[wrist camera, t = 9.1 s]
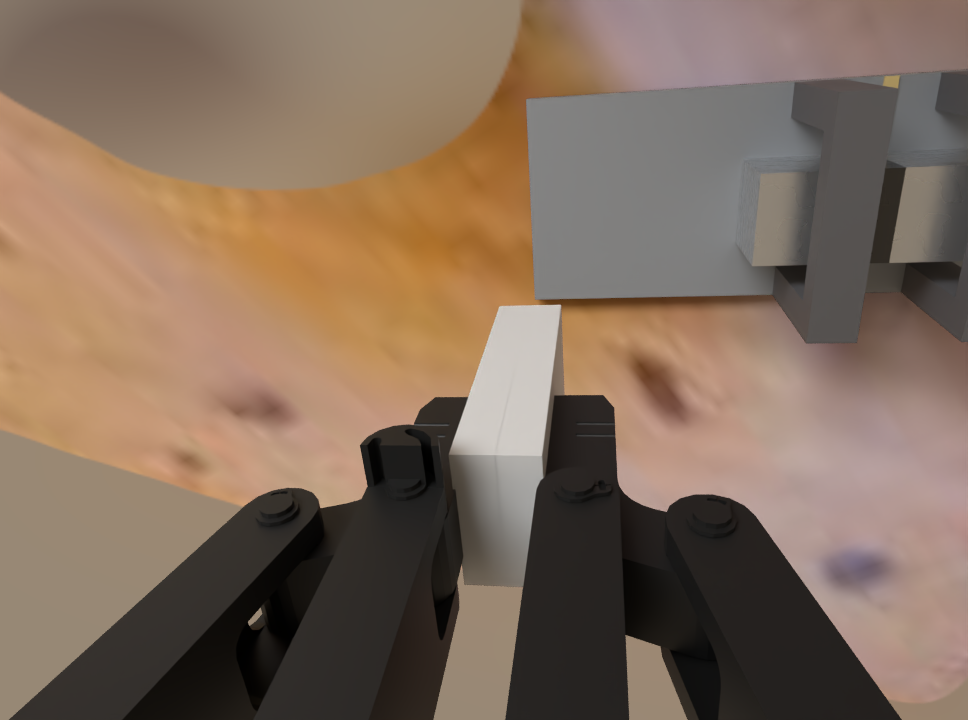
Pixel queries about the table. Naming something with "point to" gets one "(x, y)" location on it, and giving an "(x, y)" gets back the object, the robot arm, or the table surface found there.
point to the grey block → (901, 216)
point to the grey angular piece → (736, 193)
